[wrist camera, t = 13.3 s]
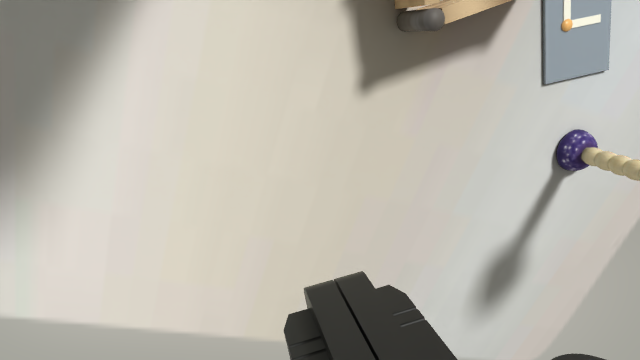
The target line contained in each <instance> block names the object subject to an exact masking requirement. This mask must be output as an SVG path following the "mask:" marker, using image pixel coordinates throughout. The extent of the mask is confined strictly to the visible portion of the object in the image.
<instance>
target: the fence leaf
mask: <svg viewBox="0 0 640 360" xmlns="http://www.w3.org/2000/svg"><path fill="white" fill-rule="evenodd" d="M508 1H511V0H443V1H440V3H434V4H431V5H429V6H426V7H423V8H420V9H417V10H412V11H404V12H402V13H401V14H400V15H399V16H398V18H397V25H398V27H399V29H400V30H402V31H437V30H439V29H440V28H442V26H443V25H444V24H447V23H450V22H453V21H456V20H458V19H461V18H464V17H467V16H470V15H472V14H475V13H478V12H481V11H483V10H486V9H489V8H492V7H495V6H497V5H500V4H503V3H506V2H508Z"/></svg>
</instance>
